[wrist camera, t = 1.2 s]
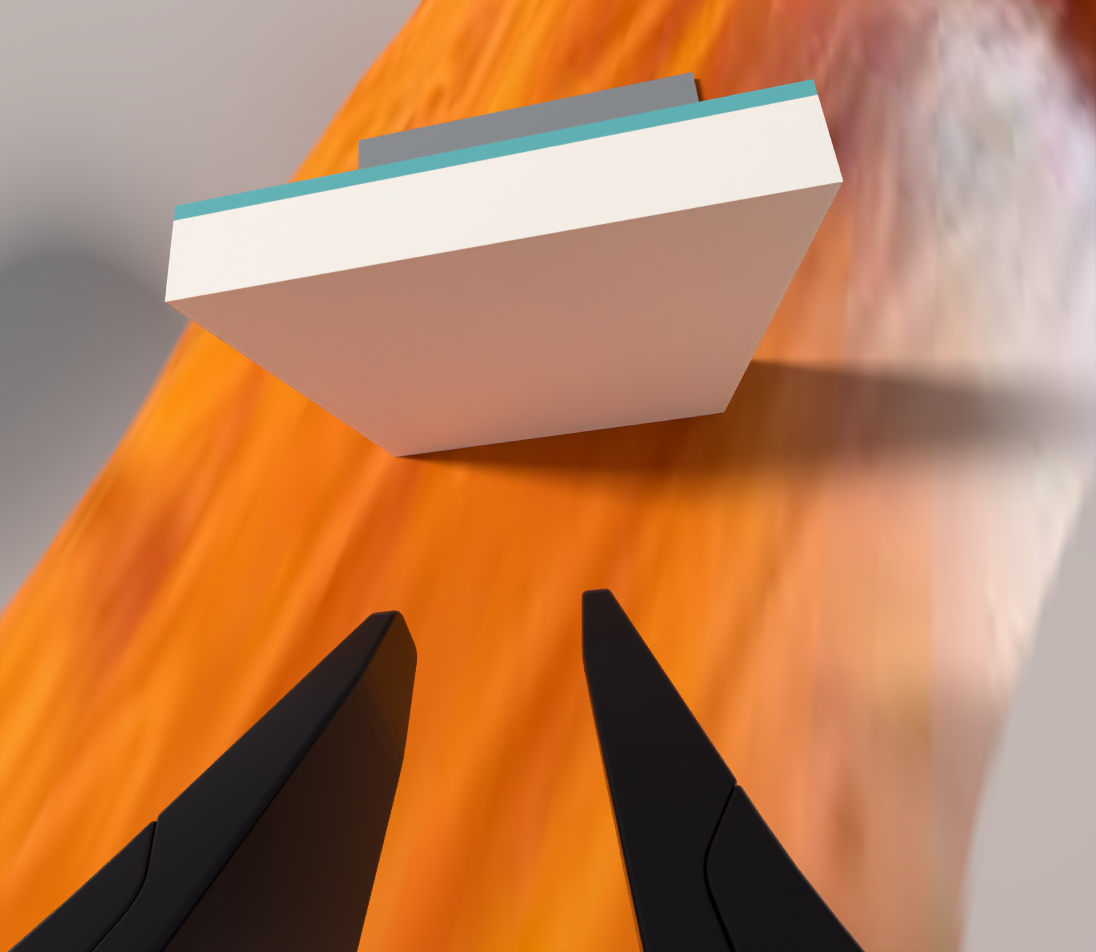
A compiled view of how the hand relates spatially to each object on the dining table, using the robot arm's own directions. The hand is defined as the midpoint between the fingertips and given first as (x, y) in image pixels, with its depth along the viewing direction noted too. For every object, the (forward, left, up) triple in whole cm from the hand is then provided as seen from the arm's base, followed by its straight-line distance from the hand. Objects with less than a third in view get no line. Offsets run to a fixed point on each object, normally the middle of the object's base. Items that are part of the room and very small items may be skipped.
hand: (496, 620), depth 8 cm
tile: (+6, -6, -13) cm, 15 cm away
